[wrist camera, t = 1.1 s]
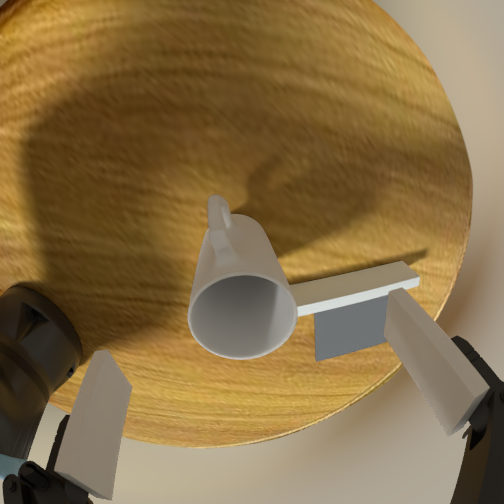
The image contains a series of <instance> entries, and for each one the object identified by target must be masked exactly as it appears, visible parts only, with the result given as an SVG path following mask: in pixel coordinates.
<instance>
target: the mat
mask: <svg viewBox="0 0 504 504" xmlns="http://www.w3.org/2000/svg"><path fill="white" fill-rule="evenodd" d="M387 303H388V295H385V296H381V297H378V298H374V299H370V300H366V301H362V302H358V303H354V304H350V305H346V306H342V307H338V308H334V309H330V310H325V311H321V312H317V313H314V321H315V357H316V362H317V361H321V360H325V359H329V358H333V357H336V356H340V355H344V354H348V353H351V352H355V351H358V350H362V349H365V348H368V347H372V346H375V345H378V344H381V343H384V342H387V340H386V338H385V337H384V328H385V321H386V312H387Z"/></svg>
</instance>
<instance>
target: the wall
mask: <svg viewBox="0 0 504 504" xmlns="http://www.w3.org/2000/svg"><path fill="white" fill-rule="evenodd" d="M419 280H420V276H419V275H418V274H417V273H416V272H415V271H414V270H412V269H411V268H410V267H409V266H408V265H407V264H406V263H405V262H403V261H398V262H394V263H390V264H385V265H381V266H377V267H373V268H368V269H364V270H359V271H355V272H350V273H346V274H341V275H337V276H332V277H327V278H323V279H318V280H313V281H308V282H303V283H298V284H293V285H289V286H290V288H291V291H292V294H293V297H294V299H295V301H296V304H297V310H298V316H303V315H307V314H312V313H317V312H321V311H325V310H330V309H334V308H338V307H342V306H346V305H350V304H354V303H358V302H362V301H366V300H370V299H374V298H378V297H381V296H385V295H388V293H389V291H391V290H395V289H398V288H401V287H403V288H404V289H405V290H406V289H409V288H413V287H416V286H419Z"/></svg>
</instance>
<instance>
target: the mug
mask: <svg viewBox="0 0 504 504" xmlns="http://www.w3.org/2000/svg"><path fill="white" fill-rule="evenodd" d="M208 226H209V228H208V229H207V231H206V233H205V235H204V239H203V243H202V246H201V250H200V255H199V259H198V264H197V268H196V273H195V277H194V282H193V286H192V291H191V298H190V305H189V309H188V325H189V328H190V331H191V333H192V335H193V337H194V338H195V339H196V341H197V342H198V343H199V344H200V345H201V346H202V347H204V348H205V349H206V350H208V351H210V352H211V353H213V354H216V355H218V356H221V357H225V358H229V359H239V360H243V359H253V358H258V357H261V356H264V355H266V354H268V353H271V352H272V351H274V350H276V349H277V348H279V347H280V346H281V345H282V344H283V343H285V342H286V340H287V339H288V338H289V337H290V335H291V334H292V332H293V330H294V328H295V326H296V323H297V317H298V310H297V304H296V301H295V299H294V297H293V294H292V291H291V288H290V286H289V283H288V281H287V279H286V277H285V274H284V272H283V270H282V268H281V266H280V263H279V261H278V259H277V257H276V255H275V252H274V250H273V248H272V246H271V243H270V241H269V239H268V237H267V235H266V233H265V231H264V229H263V228H262V226H261V225H260V224H259V223H258V222H257V221H256V220H254V219H252V218H251V217H248V216H246V215H242V214H231V213H230V210H229V206H228V203H227V201H226V200H225V199H224V198H223V197H222V196H220V195H218V194H214V195H211V196H210V197H209V199H208Z"/></svg>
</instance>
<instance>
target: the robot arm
mask: <svg viewBox="0 0 504 504" xmlns="http://www.w3.org/2000/svg"><path fill="white" fill-rule="evenodd" d="M384 337H385V338H386V340H387V341H388V343H389V344H390V346H391V347H392V349H393V350H394V352H395V353H396V355H397V356H398V357H399V359H400V360H401V362H402V363H403V365H404V366H405V368H406V370H407V371H408V373H409V374H410V376H411V377H412V379H413V380H414V382H415V383H416V385H417V387H418V388H419V390H420V391H421V393H422V394H423V396H424V398H425V399H426V401H427V402H428V404H429V406H430V407H431V409H432V411H433V412H434V414H435V415H436V417H437V419H438V421H439V422H440V424H441V425H442V427H443V429H444V431H445V432H446V434H447V436H450V435H452V434H453V433H455V432H457V431H458V430H460V429H461V428H463V426H464V425H465V424H466V422H467V421H469V422H470V424H471V425H470V426H469V428H468V429H467V430H466V432H465V433H464V434H463V437H462V438H465V437H466V435H467V434H468V437H467V443H466V448H465V452H464V457H463V462H462V465H461V469H460V473H459V477H458V481H457V484H456V488H455V491H454V494H453V497H452V500H451V503H450V504H504V382H502V381H501V380H500V379H499V378H498V377H497V375H496V374H495V373H494V372H493V370H492V369H491V368H490V367H489V366H488V364H487V363H486V362H485V361H484V360H483V358H482V357H480V355H479V354H478V353H477V352H476V351H475V350H474V348H473V347H472V346H471V345H470V344H469V343H468V341H466V340H464V339H463V338H461V337H459V336H455V337H453V338H451V339H450V338H449V337H448V336H447V335H446V333H444V331H443V330H442V329H441V328H440V327H439V326H438V325H437V323H436V322H435V321H434V320H433V319H432V318H431V317H430V316H429V315H428V314H427V312H426V311H425V310H424V309H423V308H422V307H421V306H420V305H419V304H418V303H417V302H416V301H415V300H414V299H413V298H412V297H411V296H410V295H409V294H408V292H407V291H406V290H405V289H404V288H403V287H401V288H398V289H395V290H391V291H389V293H388V303H387V312H386V321H385V328H384ZM81 357H82V348H81V343H80V340H79V338H78V335H77V333H76V331H75V330H74V328H73V326H72V325H71V323H70V322H69V321H68V319H67V318H66V317H65V316H64V314H63V313H62V312H61V311H60V310H59V309H58V308H57V307H56V306H55V305H54V304H53V303H51V302H50V301H49V300H48V299H46V298H45V297H44V296H42V295H40V294H39V293H37V292H35V291H33V290H30V289H28V288H24V287H12V288H9V289H8V290H6V291H5V292H4V293H3V294H2V295H1V296H0V478H1V479H3V480H4V481H3V497H4V504H93V502H92V501H91V500H90V498H88V494H89V493H90V494H91V495H93V496H95V497H97V498H101V499H107V500H112V495H113V487H114V480H115V473H116V467H117V460H118V454H119V449H120V443H121V437H122V432H123V427H124V422H125V417H126V413H127V408H128V403H129V399H130V394H131V390H132V386H131V384H130V383H129V382H128V380H127V379H126V377H125V376H124V374H123V373H122V371H121V370H120V368H119V367H118V365H117V364H116V362H115V361H114V359H113V357H112V356H111V354H110V353H109V351H108V350H99V351H95V352H94V354H93V357H92V359H91V362H90V364H89V367H88V369H87V371H86V374H85V377H84V379H83V382H82V384H81V387H80V390H79V392H78V395H77V398H76V400H75V403H74V406H73V409H72V412H71V415H66V416H65V417H64V418H63V420H62V421H61V422H60V424H59V427H58V430H57V435H56V437H55V442H54V443H53V446H52V450H51V453H50V456H49V460H48V463H47V467H46V470H44V469H43V468H41V467H40V466H39V465H37V464H36V463H35V462H33V461H27V458H28V455H29V452H30V449H31V446H32V443H33V440H34V437H35V434H36V431H37V428H38V425H39V423H40V420H41V418H42V415H43V413H44V410H45V407H46V405H47V403H48V400H49V398H50V396H51V395H52V394H53V393H54V392H55V391H56V390H57V389H58V388H59V387H61V386H62V385H63V384H64V383H65V382H66V381H67V380H68V379H69V378H70V377H71V376H72V375H73V374H74V373H75V371H76V369H77V367H78V365H79V363H80V361H81Z"/></svg>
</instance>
